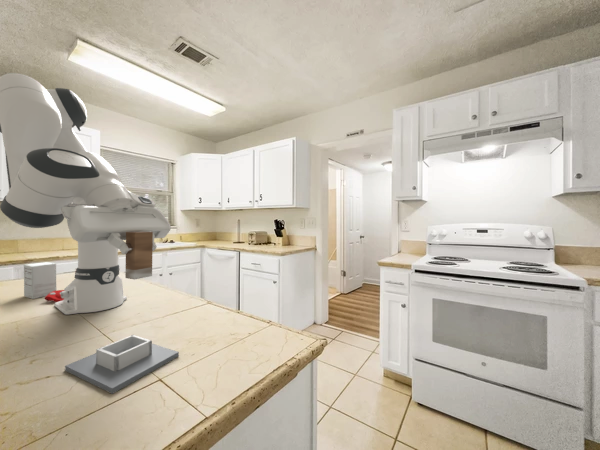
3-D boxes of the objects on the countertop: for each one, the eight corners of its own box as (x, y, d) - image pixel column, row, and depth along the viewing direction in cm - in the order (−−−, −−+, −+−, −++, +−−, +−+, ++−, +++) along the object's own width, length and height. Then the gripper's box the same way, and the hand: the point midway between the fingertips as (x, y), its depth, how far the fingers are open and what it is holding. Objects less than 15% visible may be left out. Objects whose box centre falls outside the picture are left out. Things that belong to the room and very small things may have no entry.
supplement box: (48, 291, 106) (48, 261, 106) (56, 294, 103) (56, 263, 103) (23, 296, 100) (23, 264, 99) (31, 299, 96) (31, 266, 96)
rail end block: (125, 278, 55) (126, 232, 55) (143, 274, 59) (143, 231, 59) (134, 279, 54) (135, 232, 54) (152, 276, 57) (152, 231, 57)
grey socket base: (65, 370, 52) (65, 351, 52) (133, 341, 65) (134, 325, 65) (112, 393, 45) (112, 371, 45) (178, 356, 58) (178, 338, 58)
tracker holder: (76, 299, 94) (41, 296, 90) (73, 310, 95) (38, 307, 90) (88, 284, 105) (58, 280, 101) (86, 294, 106) (55, 290, 101)
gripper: (63, 191, 49) (93, 245, 45) (159, 200, 68) (185, 238, 64) (51, 214, 51) (78, 267, 47) (147, 217, 70) (172, 255, 66)
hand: (141, 250), depth 56 cm, fingers closed on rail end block, 4 cm apart
